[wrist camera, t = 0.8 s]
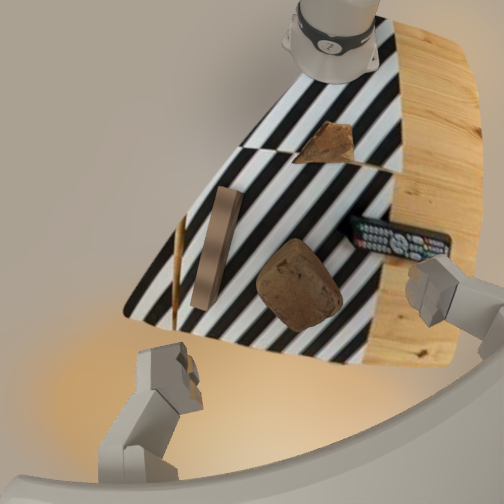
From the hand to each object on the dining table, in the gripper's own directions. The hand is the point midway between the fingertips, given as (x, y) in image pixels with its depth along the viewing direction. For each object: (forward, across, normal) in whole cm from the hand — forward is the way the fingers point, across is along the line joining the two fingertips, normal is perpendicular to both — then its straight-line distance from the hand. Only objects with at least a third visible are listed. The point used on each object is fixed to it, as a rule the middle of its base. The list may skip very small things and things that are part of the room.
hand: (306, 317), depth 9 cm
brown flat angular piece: (+40, -19, +9) cm, 45 cm away
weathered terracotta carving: (+32, -9, +26) cm, 42 cm away
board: (+39, +3, +21) cm, 44 cm away
